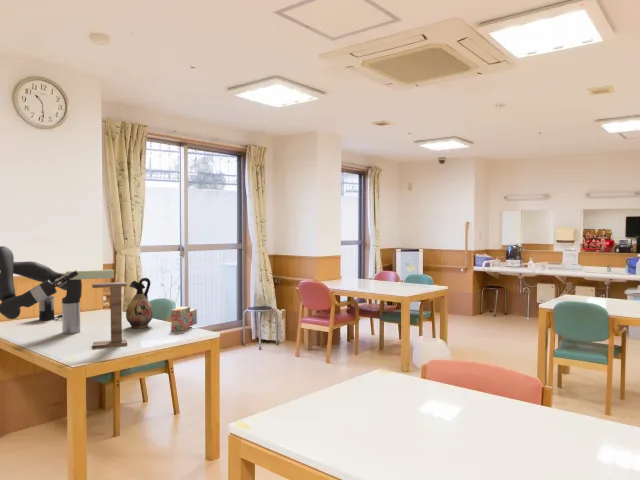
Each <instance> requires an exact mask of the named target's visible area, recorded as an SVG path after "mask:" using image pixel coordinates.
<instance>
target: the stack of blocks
mask: <svg viewBox="0 0 640 480" xmlns="http://www.w3.org/2000/svg"><path fill="white" fill-rule="evenodd" d="M170 310H171V311H170V312H171V313H170V314H171V315H170V322H171V323H170V324H171V325H170V327H171V328H170V329H171V331H174V330H178V332H181V330H182V331H184V330H185V329H188V328H190V327H192V326H194V325H197V324H198V314H197V312H198V311H197V310H198V309H197V308H191V306H178V307H175V308H173V309H170Z"/></svg>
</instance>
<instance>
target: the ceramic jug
mask: <svg viewBox="0 0 640 480" xmlns="http://www.w3.org/2000/svg"><path fill="white" fill-rule="evenodd" d="M144 282H146V283H147V284H146V286H145V285H144V284H143V283H144ZM129 287H130V288H131V289H135V290H136V293H135V295H134V296H133V297H132V298H131V300H130V302H129V304H128V306H127V308H126V313H125V317H126V321H127V322H128V323H129V325H130V326H131V329H144V328H147V327H148V326H149V324H150V323H151V321H152V320H153V316H154V312H153V311H154V310H153V306H152V304H151V303H150V301H149V298H148V293H149V291H150V287H151V280H150V278H147V277H143V278H140V279H139V280H138V281H137V280H133V281H132V282H131V283H130V284H129ZM143 289H145V290H144V291H143Z"/></svg>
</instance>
